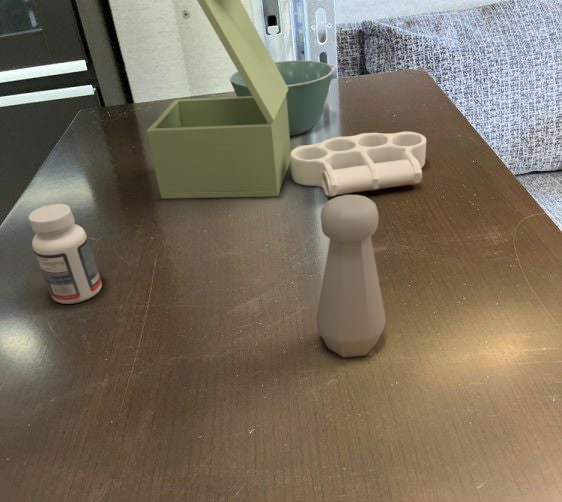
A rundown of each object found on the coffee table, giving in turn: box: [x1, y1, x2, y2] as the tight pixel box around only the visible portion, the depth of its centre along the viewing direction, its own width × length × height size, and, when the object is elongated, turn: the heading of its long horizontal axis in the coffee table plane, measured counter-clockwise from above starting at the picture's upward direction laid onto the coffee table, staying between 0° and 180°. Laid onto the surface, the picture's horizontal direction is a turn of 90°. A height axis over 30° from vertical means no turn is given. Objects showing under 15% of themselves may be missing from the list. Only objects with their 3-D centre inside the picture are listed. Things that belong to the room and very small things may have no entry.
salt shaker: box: [316, 194, 387, 358], centre depth 50 cm, size 6×6×13 cm
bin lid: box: [196, 0, 288, 123], centre depth 73 cm, size 16×13×5 cm
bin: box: [146, 95, 292, 200], centre depth 82 cm, size 16×13×9 cm
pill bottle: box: [28, 203, 103, 305], centre depth 62 cm, size 5×5×9 cm
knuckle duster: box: [290, 131, 427, 198], centre depth 81 cm, size 3×18×15 cm
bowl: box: [229, 60, 334, 137], centre depth 97 cm, size 16×16×8 cm
